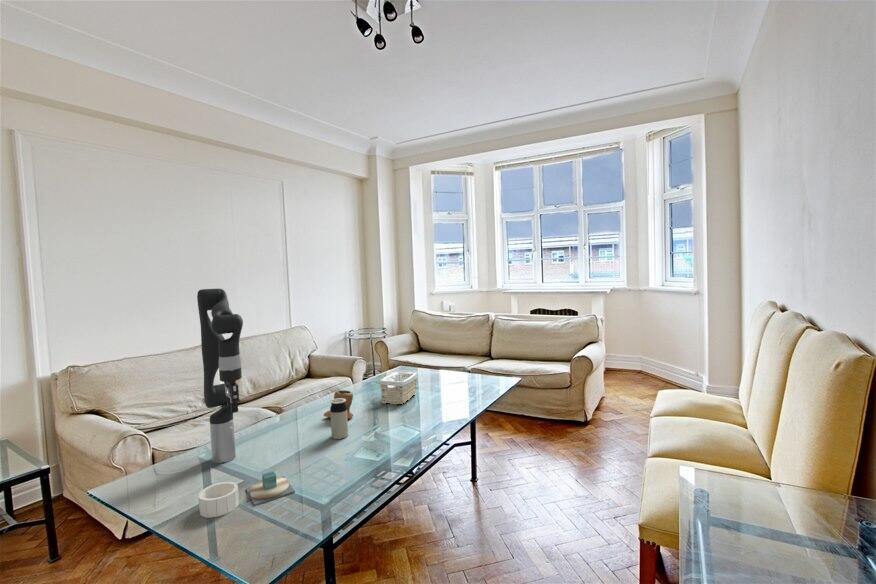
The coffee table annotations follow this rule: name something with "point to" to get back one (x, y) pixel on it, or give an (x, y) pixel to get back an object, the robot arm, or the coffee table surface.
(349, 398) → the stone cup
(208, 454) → the coffee table surface
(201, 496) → the bowl
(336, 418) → the travel mug
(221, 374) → the robot arm
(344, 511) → the coffee table surface
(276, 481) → the lid
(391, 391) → the storage basket
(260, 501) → the mat
